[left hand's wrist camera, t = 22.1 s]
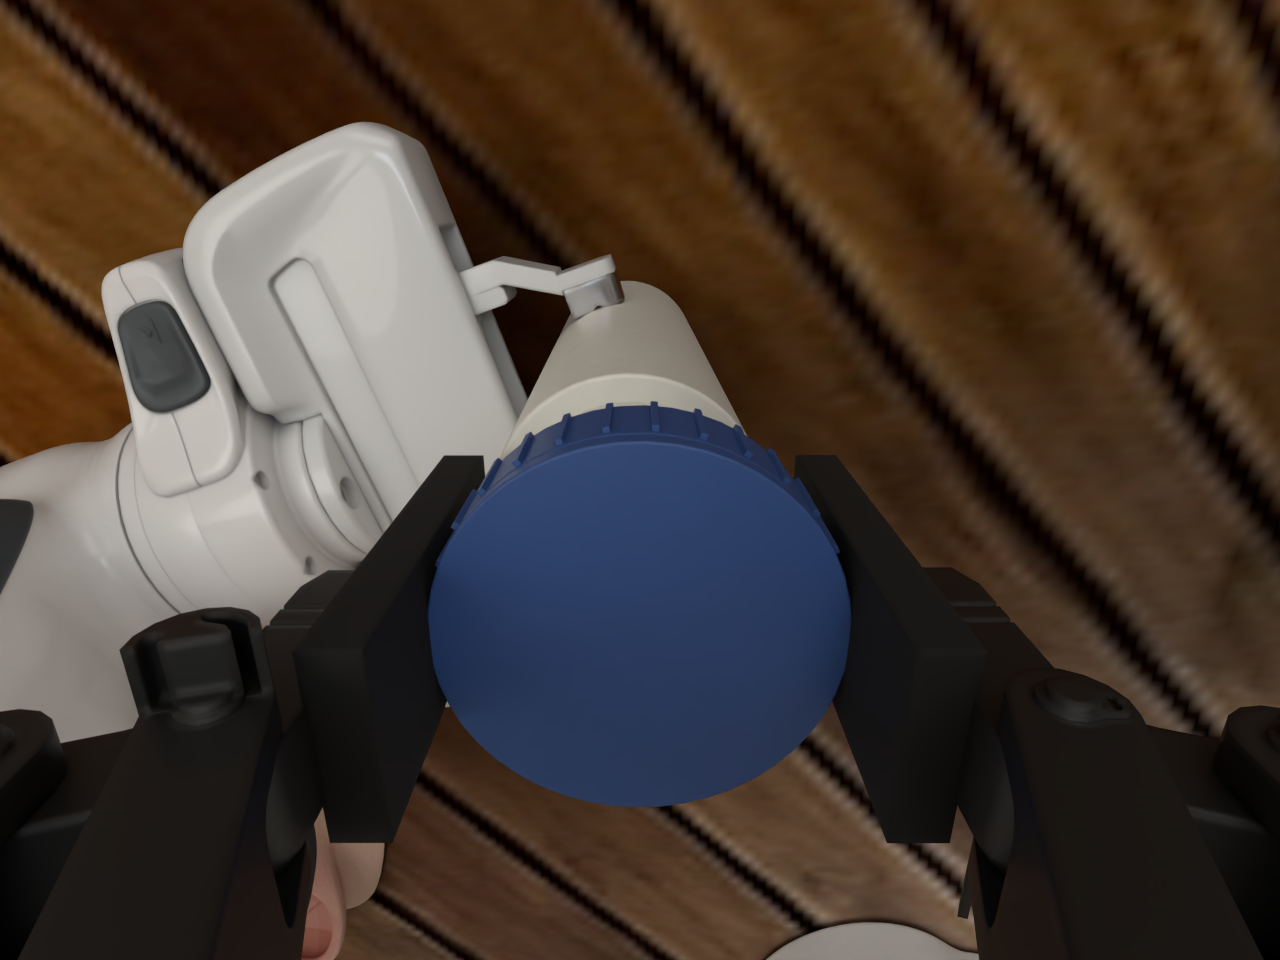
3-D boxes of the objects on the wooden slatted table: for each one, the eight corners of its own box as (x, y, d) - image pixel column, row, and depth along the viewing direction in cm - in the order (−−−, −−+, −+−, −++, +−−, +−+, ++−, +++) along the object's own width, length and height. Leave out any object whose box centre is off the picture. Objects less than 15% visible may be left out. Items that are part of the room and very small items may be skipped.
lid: (385, 479, 11) (340, 528, 10) (761, 338, 11) (786, 364, 9) (542, 771, 14) (528, 855, 12) (868, 671, 13) (904, 744, 11)
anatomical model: (147, 749, 34) (393, 808, 35) (195, 694, 37) (415, 750, 39) (124, 942, 38) (343, 988, 40) (168, 877, 42) (367, 920, 43)
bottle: (690, 408, 33) (771, 668, 14) (565, 409, 32) (489, 672, 14) (692, 280, 31) (791, 392, 12) (559, 280, 30) (463, 395, 12)
